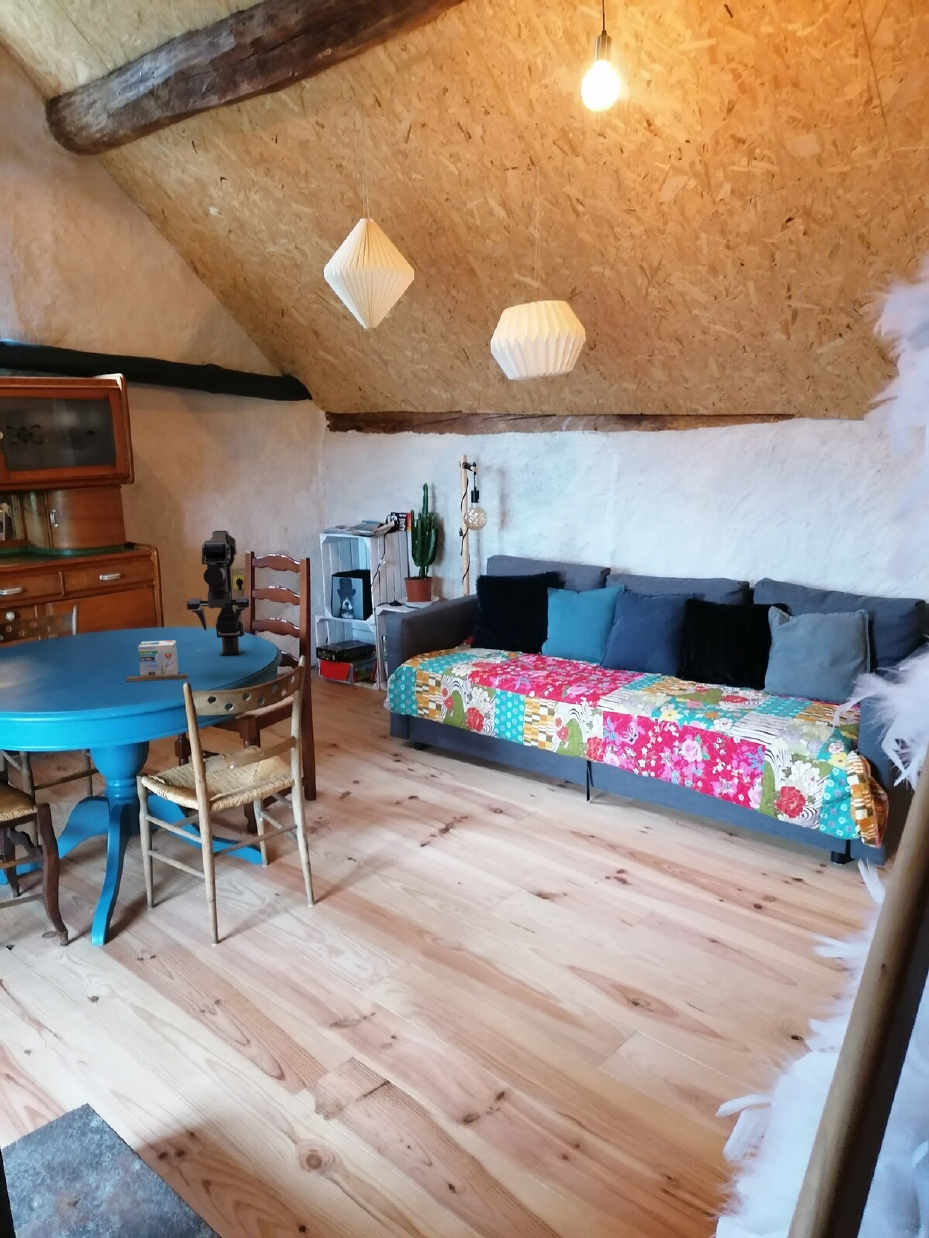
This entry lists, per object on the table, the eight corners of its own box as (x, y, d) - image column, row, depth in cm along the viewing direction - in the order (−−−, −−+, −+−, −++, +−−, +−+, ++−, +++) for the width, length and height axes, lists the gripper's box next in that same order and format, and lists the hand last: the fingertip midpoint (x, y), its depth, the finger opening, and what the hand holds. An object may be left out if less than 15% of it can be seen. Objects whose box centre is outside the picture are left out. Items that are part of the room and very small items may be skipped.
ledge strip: (127, 680, 258) (127, 676, 258) (187, 677, 262) (187, 673, 261) (126, 681, 257) (126, 678, 256) (186, 678, 260) (186, 675, 260)
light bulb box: (140, 679, 259) (137, 646, 257) (143, 673, 266) (141, 641, 264) (175, 677, 261) (173, 644, 259) (178, 672, 268) (176, 639, 266)
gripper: (182, 586, 249) (186, 636, 252) (246, 583, 253) (249, 633, 256) (187, 580, 260) (191, 629, 263) (248, 578, 263) (251, 626, 266)
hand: (220, 629), depth 262 cm, fingers open, 9 cm apart
